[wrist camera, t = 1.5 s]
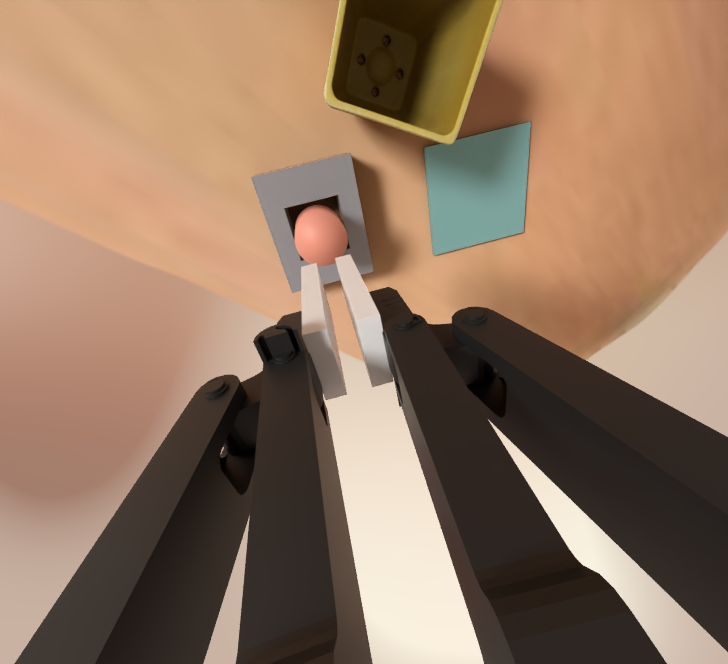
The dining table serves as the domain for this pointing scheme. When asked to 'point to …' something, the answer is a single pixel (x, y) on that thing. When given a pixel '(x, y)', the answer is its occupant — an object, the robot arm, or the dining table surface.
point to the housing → (306, 187)
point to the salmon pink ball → (320, 235)
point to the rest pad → (477, 187)
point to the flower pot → (409, 62)
